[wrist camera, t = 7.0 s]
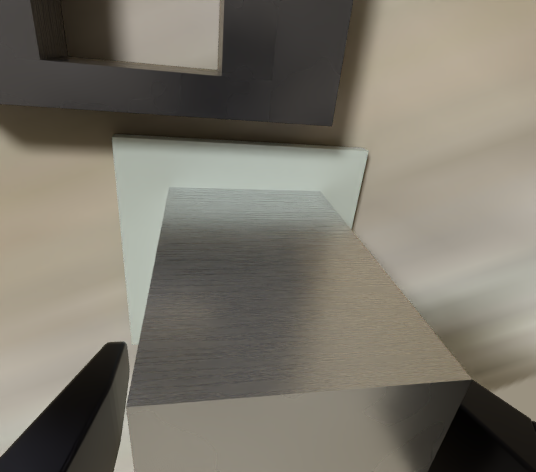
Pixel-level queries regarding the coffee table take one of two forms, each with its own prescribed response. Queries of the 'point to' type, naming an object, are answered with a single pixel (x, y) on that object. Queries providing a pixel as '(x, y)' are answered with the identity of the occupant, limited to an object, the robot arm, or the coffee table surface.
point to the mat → (214, 176)
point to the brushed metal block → (281, 346)
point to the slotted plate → (183, 78)
